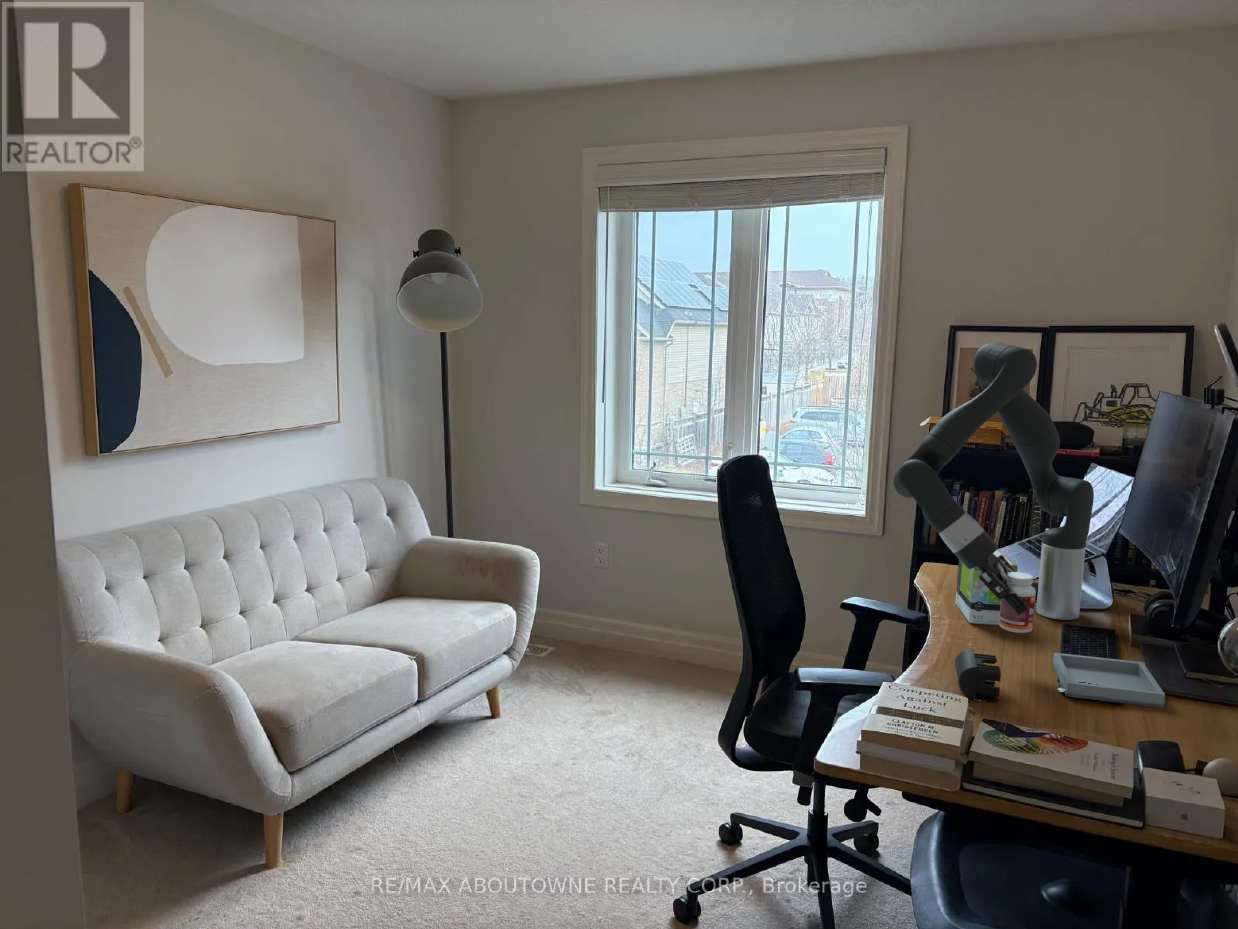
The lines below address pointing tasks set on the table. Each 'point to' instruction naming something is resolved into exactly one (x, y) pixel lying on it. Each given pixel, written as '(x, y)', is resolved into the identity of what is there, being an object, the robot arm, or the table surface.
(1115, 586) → the table surface
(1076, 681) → the tray
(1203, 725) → the table surface
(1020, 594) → the pill bottle
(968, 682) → the end cap
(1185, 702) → the table surface
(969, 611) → the tea box
